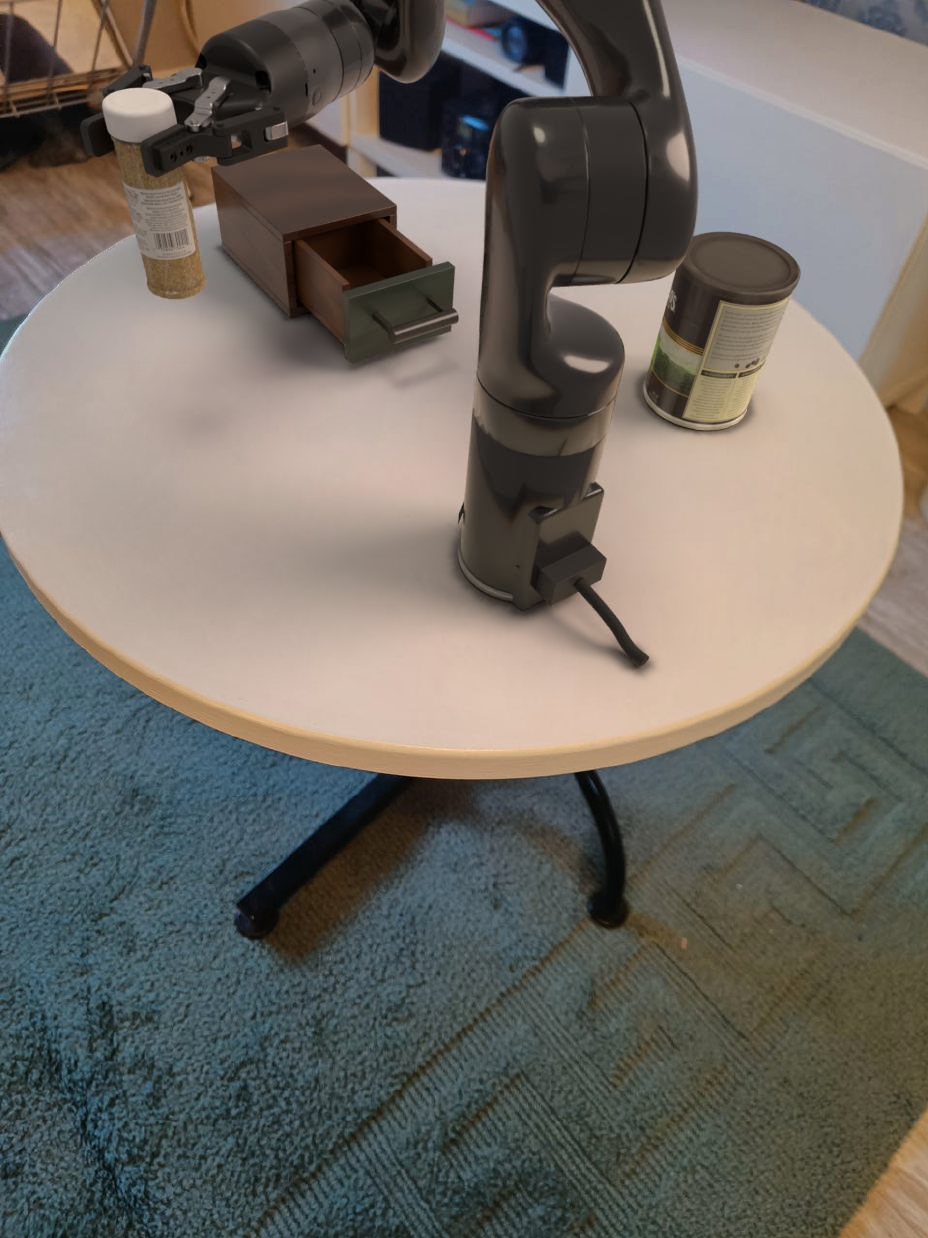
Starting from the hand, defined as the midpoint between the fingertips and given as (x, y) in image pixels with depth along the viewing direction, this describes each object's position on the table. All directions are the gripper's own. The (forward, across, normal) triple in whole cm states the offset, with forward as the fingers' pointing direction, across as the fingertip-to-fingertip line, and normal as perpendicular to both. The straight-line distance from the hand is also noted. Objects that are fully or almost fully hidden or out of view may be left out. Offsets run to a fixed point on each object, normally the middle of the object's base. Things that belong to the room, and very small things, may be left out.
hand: (117, 150), depth 58 cm
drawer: (-23, +5, +23) cm, 33 cm away
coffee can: (-31, +37, +24) cm, 54 cm away
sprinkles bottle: (-3, 0, +11) cm, 12 cm away
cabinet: (-29, -8, +24) cm, 38 cm away
